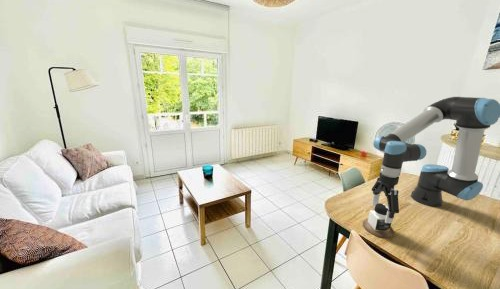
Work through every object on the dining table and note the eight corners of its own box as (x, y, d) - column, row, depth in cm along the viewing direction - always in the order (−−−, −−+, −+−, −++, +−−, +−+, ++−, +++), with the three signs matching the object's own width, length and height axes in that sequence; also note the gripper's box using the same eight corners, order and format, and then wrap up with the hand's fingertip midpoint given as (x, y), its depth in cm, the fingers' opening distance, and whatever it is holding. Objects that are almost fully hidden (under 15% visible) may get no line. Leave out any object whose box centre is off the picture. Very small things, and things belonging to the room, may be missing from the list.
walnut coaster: (382, 220, 110) (383, 218, 110) (399, 238, 98) (399, 236, 98) (358, 220, 111) (358, 218, 110) (371, 237, 98) (372, 235, 98)
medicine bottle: (375, 231, 101) (379, 210, 97) (367, 221, 107) (371, 201, 104) (389, 231, 100) (394, 210, 97) (381, 221, 107) (385, 201, 104)
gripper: (368, 163, 108) (362, 199, 114) (396, 187, 84) (386, 230, 90) (384, 164, 107) (376, 200, 113) (416, 187, 83) (404, 231, 89)
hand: (380, 213), depth 102 cm, fingers open, 13 cm apart
